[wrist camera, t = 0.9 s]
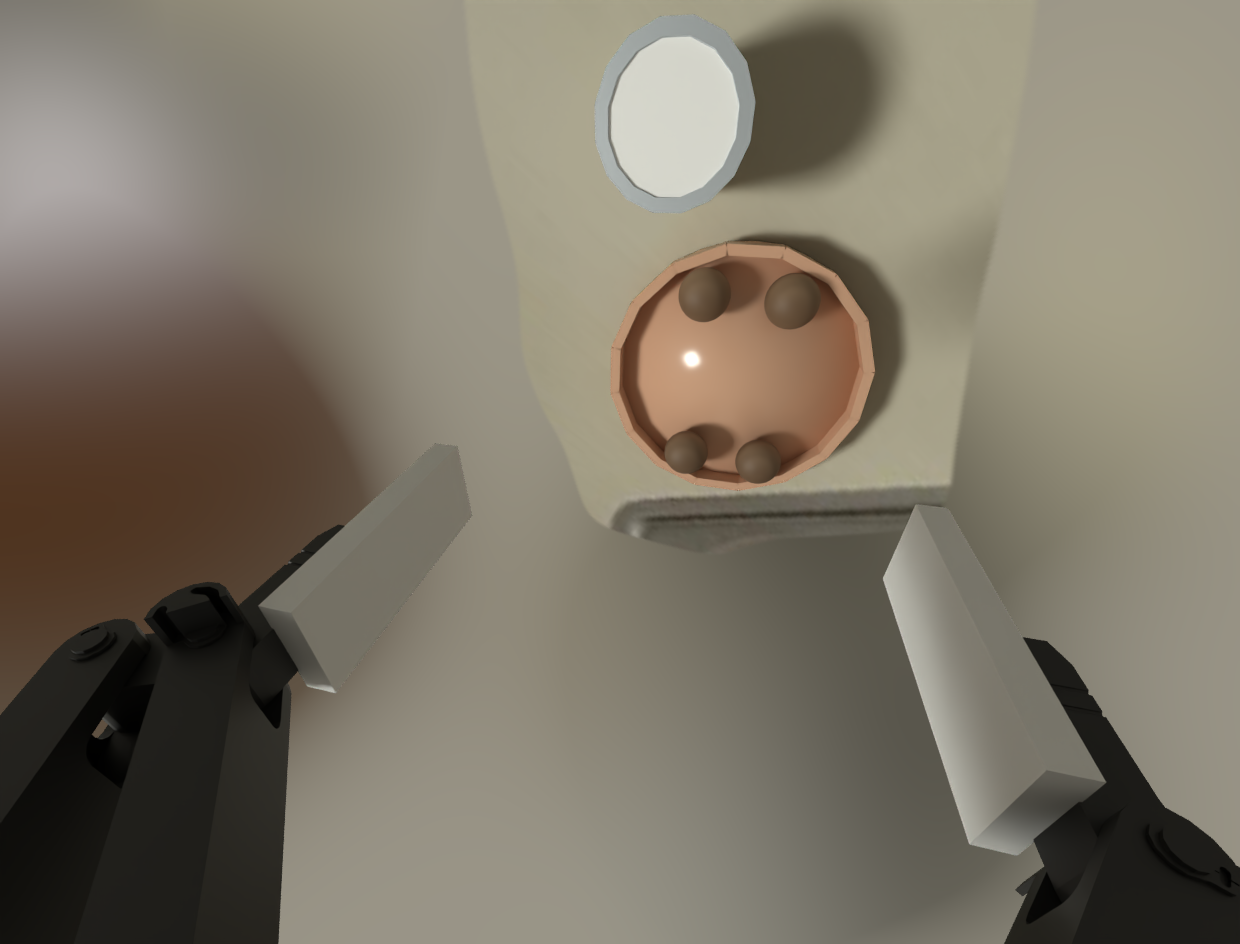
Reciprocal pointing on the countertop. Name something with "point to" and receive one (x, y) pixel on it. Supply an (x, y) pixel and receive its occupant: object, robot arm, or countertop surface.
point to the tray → (742, 366)
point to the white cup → (674, 114)
